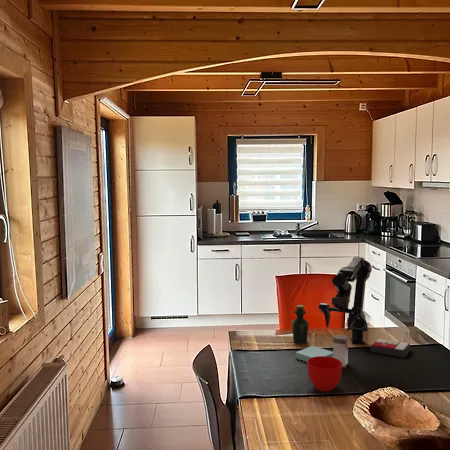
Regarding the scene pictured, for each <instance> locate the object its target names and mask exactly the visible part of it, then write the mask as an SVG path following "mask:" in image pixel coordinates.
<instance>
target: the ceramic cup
mask: <svg viewBox="0 0 450 450" xmlns="http://www.w3.org/2000/svg"><path fill="white" fill-rule="evenodd" d="M306 363H307V364H306V365H307V373H308V377H309V380H310V382H311V384H312V385H313V386H314V387H315V389H316V390H318V391H320V392H331V391H333V390H334V389H335V388H336V387H337V386H338V385H339V383H340V381H341V377H342V372H343V367H342V362H341V361H340V360H338V359H336V358H333V357H327V356H317V357H312V358H310V359H309V360H308V362H306Z"/></svg>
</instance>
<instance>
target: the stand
mask: <svg viewBox="0 0 450 450" xmlns="http://www.w3.org/2000/svg"><path fill="white" fill-rule="evenodd" d="M317 356H327V357H333V350H332V351H331V350H327V349H324V348H321V347H318V346H314V345H311V346H309V347H306V348H303V349H301V350H299V351H296V352H295V359H296V358H297V359H296V360H298V359H300V360H299V361H301V360H303V361H302V362H304V361H306V362H305V363H307V362H308V360H309V359H310V358H312V357H317Z"/></svg>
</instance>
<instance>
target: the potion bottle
mask: <svg viewBox="0 0 450 450" xmlns="http://www.w3.org/2000/svg"><path fill="white" fill-rule="evenodd" d="M295 307H296V309H295V310H294V311H293V312H294V314H296V318H294V319H293V320H292V321H291V328H292V339H293V342H294V344H299V345H302V344H306V343H307V342H308V333H309V321H307V319H306V318H304V316H305V315H306V314H307V310H305V309H304V308H305V305H303V304H297V305H296V306H295Z"/></svg>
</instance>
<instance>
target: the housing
mask: <svg viewBox="0 0 450 450" xmlns="http://www.w3.org/2000/svg"><path fill="white" fill-rule="evenodd" d="M332 339H333V340H332V342H333V343H332V345H333V347H332V348H333V350H332V352H333V358H336V359H338V360H340V361H341V362H342V368H346V367H347V365H348V363H349V357H348V356H349V336H348V335H340V334H336V335H335V336H334V337H333V338H332Z"/></svg>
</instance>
